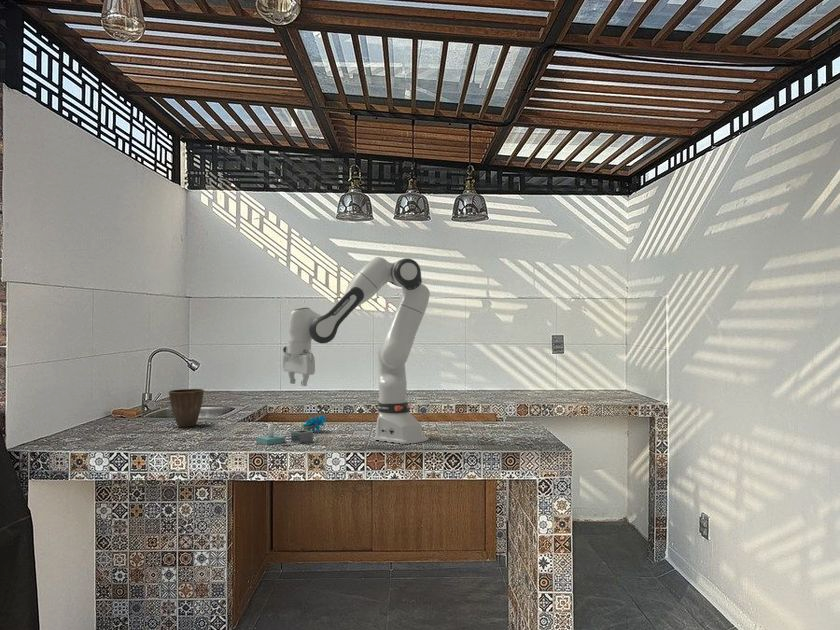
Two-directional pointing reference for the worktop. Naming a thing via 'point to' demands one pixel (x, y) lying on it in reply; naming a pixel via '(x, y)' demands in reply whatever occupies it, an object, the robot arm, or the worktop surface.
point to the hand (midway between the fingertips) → (298, 384)
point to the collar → (301, 436)
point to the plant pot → (186, 405)
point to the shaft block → (270, 437)
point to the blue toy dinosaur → (314, 423)
